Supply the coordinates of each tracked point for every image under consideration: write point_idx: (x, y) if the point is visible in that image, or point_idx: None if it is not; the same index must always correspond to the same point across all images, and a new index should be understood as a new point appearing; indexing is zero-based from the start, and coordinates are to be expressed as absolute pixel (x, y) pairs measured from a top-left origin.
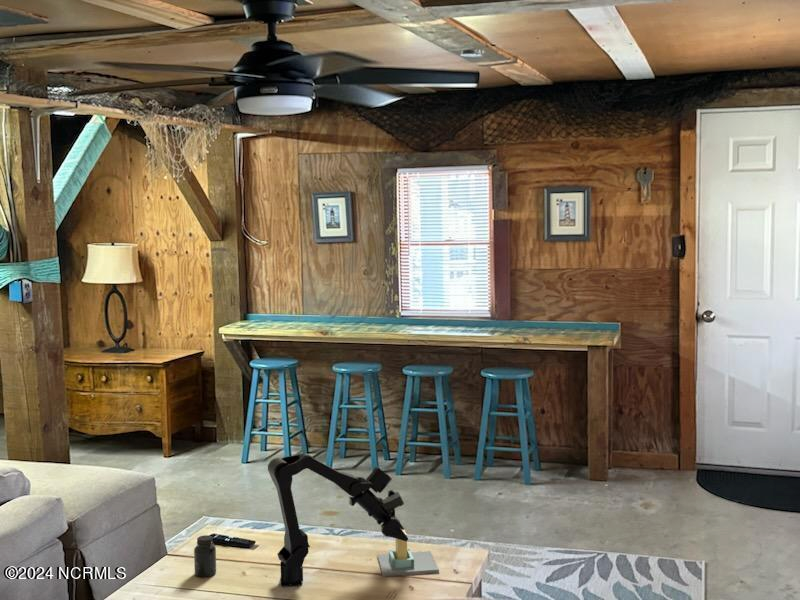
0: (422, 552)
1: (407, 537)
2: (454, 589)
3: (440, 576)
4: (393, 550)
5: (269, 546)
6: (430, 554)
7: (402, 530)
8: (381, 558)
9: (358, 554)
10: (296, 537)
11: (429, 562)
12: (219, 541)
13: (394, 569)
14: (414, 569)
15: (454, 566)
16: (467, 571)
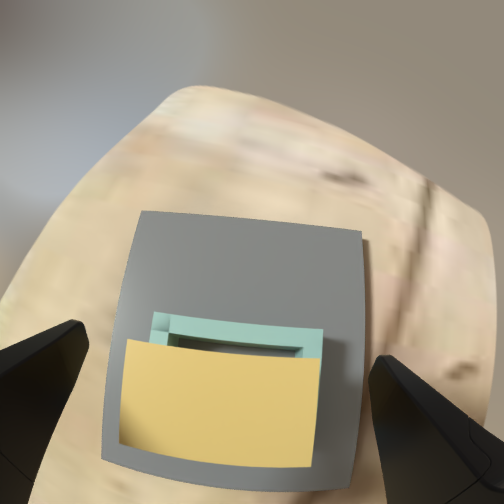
0: (141, 246)
1: (397, 363)
2: (473, 231)
3: (390, 242)
4: None
5: None
6: (177, 218)
7: (148, 371)
8: (155, 463)
9: (69, 499)
10: None
11: (273, 247)
12: None
13: (321, 437)
14: (344, 339)
15: (301, 168)
16: (350, 149)
